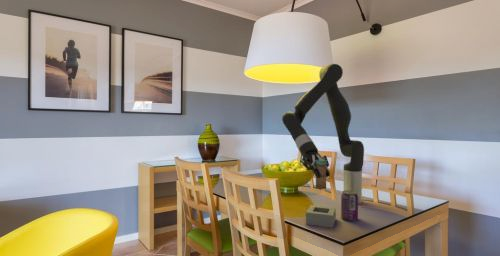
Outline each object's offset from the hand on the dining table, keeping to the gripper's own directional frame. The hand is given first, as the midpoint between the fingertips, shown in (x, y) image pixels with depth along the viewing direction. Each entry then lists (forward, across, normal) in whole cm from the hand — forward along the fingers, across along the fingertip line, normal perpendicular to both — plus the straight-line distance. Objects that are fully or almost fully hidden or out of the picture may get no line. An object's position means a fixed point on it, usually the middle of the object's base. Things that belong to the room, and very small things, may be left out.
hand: (324, 176), depth 120 cm
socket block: (+13, 0, +15) cm, 20 cm away
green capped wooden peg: (+2, 0, +5) cm, 6 cm away
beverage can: (+15, +13, +13) cm, 24 cm away
